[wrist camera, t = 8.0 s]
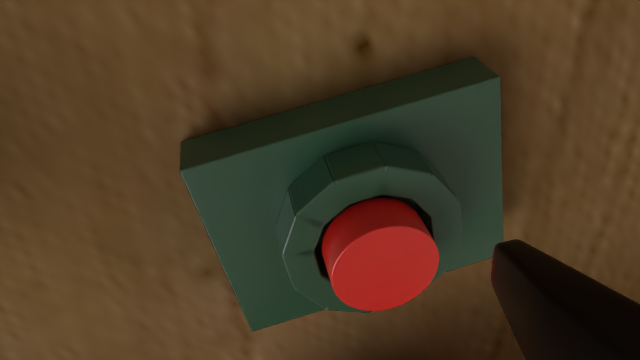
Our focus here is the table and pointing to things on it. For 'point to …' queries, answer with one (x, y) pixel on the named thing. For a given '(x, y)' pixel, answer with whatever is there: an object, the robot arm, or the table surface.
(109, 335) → the table surface
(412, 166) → the button box
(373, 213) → the button
